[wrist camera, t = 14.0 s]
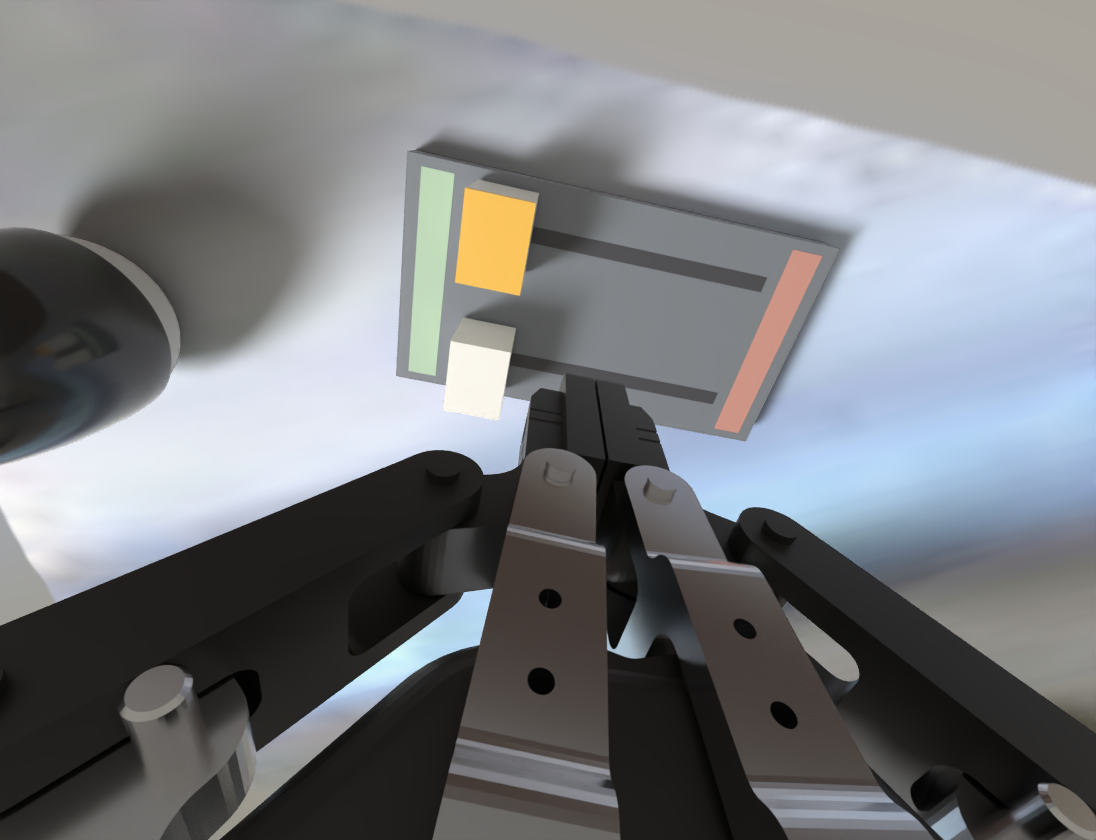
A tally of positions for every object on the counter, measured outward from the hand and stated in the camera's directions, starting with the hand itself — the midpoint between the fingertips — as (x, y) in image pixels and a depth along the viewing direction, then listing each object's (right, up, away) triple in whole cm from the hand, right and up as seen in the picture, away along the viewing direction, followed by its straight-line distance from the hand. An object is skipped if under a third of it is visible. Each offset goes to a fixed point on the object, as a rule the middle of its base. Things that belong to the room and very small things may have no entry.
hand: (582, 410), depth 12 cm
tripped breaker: (-3, +9, +12) cm, 16 cm away
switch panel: (+2, +6, +16) cm, 17 cm away
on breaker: (-5, +3, +16) cm, 17 cm away
